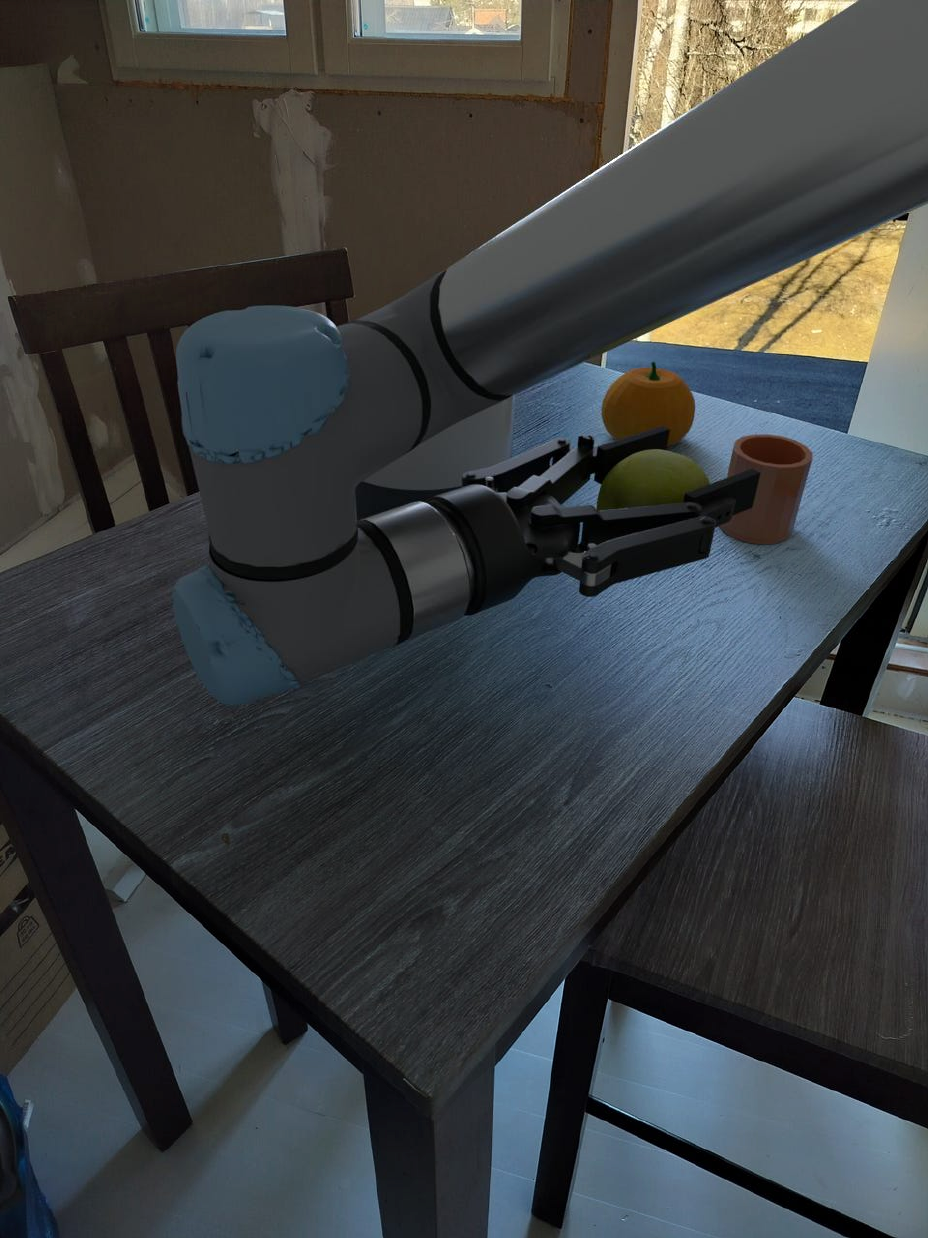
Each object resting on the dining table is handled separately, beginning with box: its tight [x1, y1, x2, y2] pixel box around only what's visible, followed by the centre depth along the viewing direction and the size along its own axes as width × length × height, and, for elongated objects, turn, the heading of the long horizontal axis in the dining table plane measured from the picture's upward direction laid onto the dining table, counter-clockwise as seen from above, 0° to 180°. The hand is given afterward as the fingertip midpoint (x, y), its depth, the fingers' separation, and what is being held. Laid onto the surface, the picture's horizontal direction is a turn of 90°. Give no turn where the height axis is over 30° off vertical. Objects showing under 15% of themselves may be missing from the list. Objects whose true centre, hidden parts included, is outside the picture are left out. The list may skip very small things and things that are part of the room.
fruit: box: [601, 361, 696, 447], centre depth 108 cm, size 12×12×10 cm
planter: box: [355, 394, 516, 520], centre depth 90 cm, size 19×19×18 cm
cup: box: [718, 433, 814, 545], centre depth 90 cm, size 8×8×9 cm
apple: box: [595, 449, 711, 511], centre depth 60 cm, size 8×9×8 cm
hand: (705, 465), depth 61 cm, fingers closed on apple, 8 cm apart
